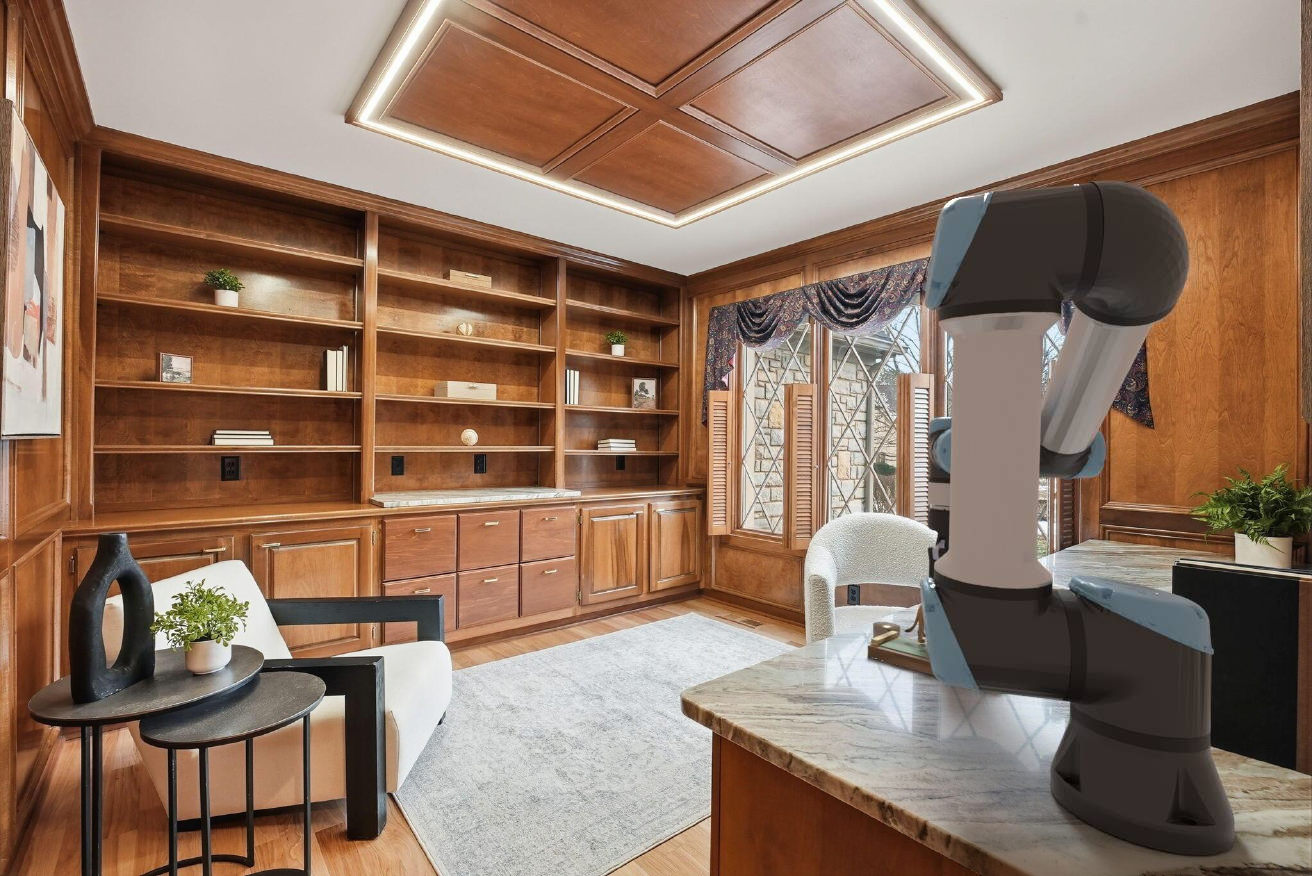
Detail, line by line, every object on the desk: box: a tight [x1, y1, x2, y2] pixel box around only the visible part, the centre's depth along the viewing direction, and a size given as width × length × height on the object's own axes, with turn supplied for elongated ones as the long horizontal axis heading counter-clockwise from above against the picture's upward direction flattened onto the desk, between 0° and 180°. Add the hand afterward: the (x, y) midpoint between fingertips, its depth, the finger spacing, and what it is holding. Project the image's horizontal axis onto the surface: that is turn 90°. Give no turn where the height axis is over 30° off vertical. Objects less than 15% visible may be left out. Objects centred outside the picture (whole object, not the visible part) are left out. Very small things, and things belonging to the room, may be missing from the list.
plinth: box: [867, 631, 935, 676], centre depth 108 cm, size 10×21×3 cm, turn 43°
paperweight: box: [872, 621, 901, 638], centre depth 122 cm, size 5×5×3 cm
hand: (950, 644), depth 106 cm, fingers closed on lion figurine, 5 cm apart
